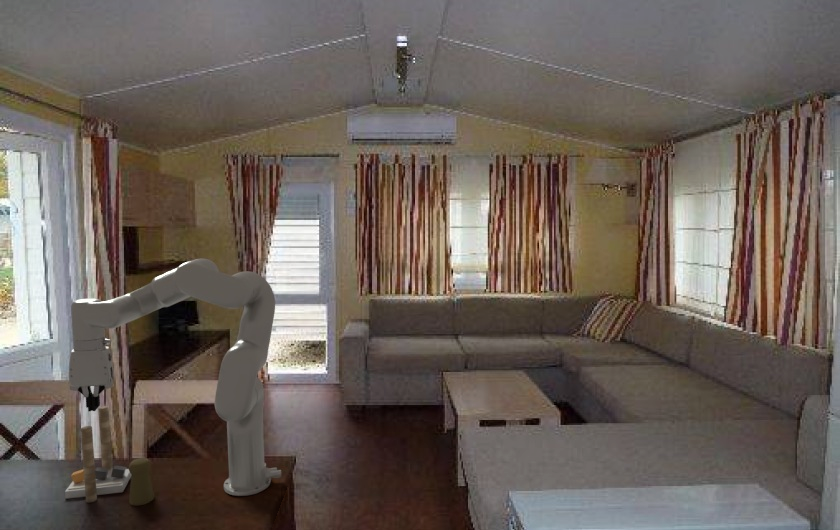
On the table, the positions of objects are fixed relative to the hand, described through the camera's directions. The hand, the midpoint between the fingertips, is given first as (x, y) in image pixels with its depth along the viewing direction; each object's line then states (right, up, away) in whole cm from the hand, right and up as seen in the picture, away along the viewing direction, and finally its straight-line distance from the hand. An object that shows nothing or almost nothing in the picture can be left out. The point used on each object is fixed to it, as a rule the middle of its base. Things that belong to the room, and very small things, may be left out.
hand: (93, 409), depth 156 cm
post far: (-1, -21, +10) cm, 24 cm away
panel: (0, -22, +2) cm, 22 cm away
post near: (+2, -23, -5) cm, 24 cm away
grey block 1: (0, -20, +2) cm, 20 cm away
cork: (+16, -23, -5) cm, 28 cm away
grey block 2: (+5, -20, +3) cm, 21 cm away
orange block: (-4, -20, +1) cm, 21 cm away
